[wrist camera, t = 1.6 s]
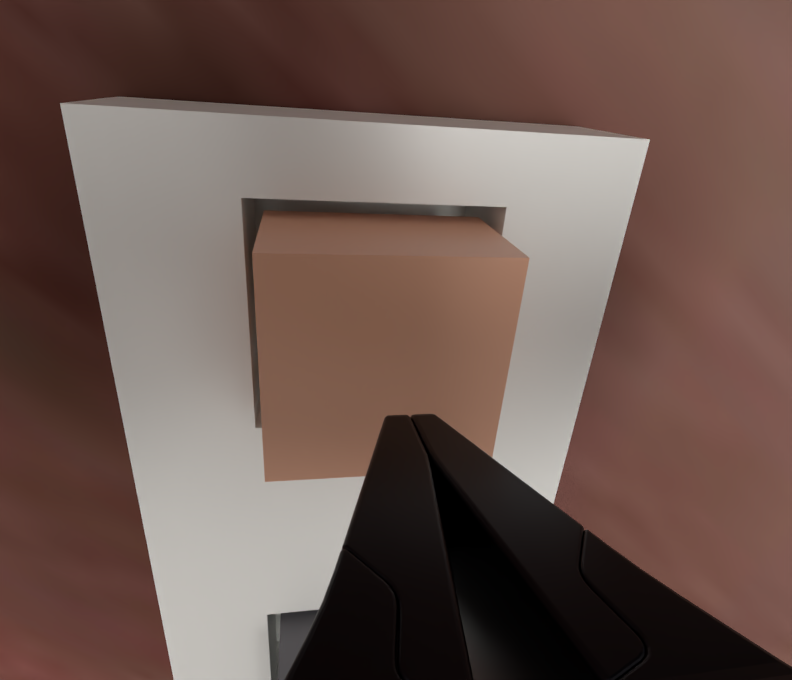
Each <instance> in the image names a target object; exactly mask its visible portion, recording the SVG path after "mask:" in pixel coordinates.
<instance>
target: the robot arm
mask: <svg viewBox="0 0 792 680" xmlns="http://www.w3.org/2000/svg"><path fill="white" fill-rule="evenodd" d="M284 680H792V667H791V666H790V665H788V664H786V663H785V662H783V661H781V660H780V659H778V658H777V657H775V656H773V655H772V654H770V653H769V652H767V651H766V650H764V649H763V648H761V647H760V646H758V645H756V644H755V643H753V642H752V641H750V640H749V639H747V638H746V637H744V636H742V635H741V634H739V633H738V632H736V631H735V630H733V629H732V628H730V627H729V626H727V625H725V624H724V623H722V622H721V621H719V620H718V619H716V618H715V617H713V616H711V615H710V614H708V613H707V612H705V611H704V610H702V609H701V608H699V607H698V606H696V605H694V604H693V603H691V602H690V601H688V600H687V599H685V598H684V597H682V596H680V595H679V594H678V593H676V592H675V591H673V590H672V589H670V588H669V587H667V586H666V585H664V584H663V583H661V582H660V581H658V580H657V579H655V578H654V577H652V576H651V575H649V574H648V573H646V572H645V571H643V570H642V569H640V568H639V567H638V566H636V565H635V564H633V563H632V562H631V561H629V560H628V559H626V558H625V557H624V556H622V555H621V554H620V553H618V552H617V551H615V550H614V549H613V548H611V547H610V546H609V545H607V544H606V543H605V542H603V541H602V540H601V539H599V538H598V537H597V536H595V535H594V534H593V533H591V532H590V531H589V530H585V531H584V528H583V526H582V525H580V524H579V523H578V522H577V521H575V520H574V519H573V518H571V517H570V516H569V515H567V514H566V513H565V512H563V511H562V510H561V509H559V508H558V507H557V506H555V505H554V504H553V503H551V502H550V501H549V500H547V499H546V498H545V497H544V496H542V495H541V494H540V493H538V492H537V491H536V490H534V489H533V488H532V487H530V486H529V485H528V484H526V483H525V482H524V481H522V480H521V479H520V478H518V477H517V476H516V475H514V474H513V473H512V472H511V471H509V470H508V469H507V468H505V467H504V466H503V465H501V464H500V463H499V462H497V461H496V460H495V459H493V458H492V457H491V456H489V455H488V454H487V453H485V452H484V451H483V450H481V449H480V448H479V447H477V446H476V445H475V444H474V443H472V442H471V441H470V440H468V439H467V438H466V437H464V436H463V435H462V434H460V433H459V432H458V431H456V430H455V429H454V428H452V427H451V426H450V425H448V424H447V423H446V422H444V421H443V420H442V419H441V418H439V417H438V416H436V415H435V414H414V415H412V416H411V417H409V416H408V415H387V416H386V417H385V418H384V421H383V424H382V427H381V430H380V433H379V436H378V439H377V442H376V445H375V448H374V451H373V454H372V457H371V460H370V464H369V467H368V470H367V473H366V476H365V479H364V482H363V485H362V488H361V491H360V494H359V497H358V500H357V503H356V506H355V509H354V512H353V515H352V518H351V521H350V525H349V528H348V531H347V534H346V537H345V540H344V543H343V546H342V550H341V551H340V554H339V557H338V560H337V563H336V566H335V569H334V572H333V575H332V577H331V580H330V583H329V585H328V588H327V591H326V593H325V596H324V599H323V601H322V604H321V606H320V608H319V610H318V612H317V614H316V617H315V619H314V621H313V623H312V625H311V627H310V630H309V632H308V634H307V636H306V638H305V640H304V642H303V644H302V646H301V648H300V650H299V652H298V654H297V656H296V658H295V660H294V662H293V664H292V666H291V668H290V670H289V671H288V673H287V675H286V677H285V679H284Z"/></svg>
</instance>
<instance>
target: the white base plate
mask: <svg viewBox="0 0 792 680" xmlns="http://www.w3.org/2000/svg"><path fill="white" fill-rule="evenodd" d="M60 106H61V111H62V116H63V121H64V126H65V131H66V137H67V142H68V147H69V152H70V157H71V162H72V167H73V172H74V177H75V182H76V187H77V192H78V197H79V202H80V207H81V212H82V218H83V223H84V228H85V233H86V238H87V243H88V248H89V253H90V258H91V263H92V268H93V273H94V278H95V283H96V288H97V293H98V298H99V304H100V309H101V314H102V319H103V324H104V329H105V334H106V339H107V344H108V349H109V354H110V359H111V364H112V369H113V374H114V379H115V385H116V390H117V395H118V400H119V405H120V410H121V415H122V420H123V425H124V430H125V435H126V440H127V445H128V450H129V455H130V460H131V466H132V471H133V476H134V481H135V486H136V491H137V496H138V501H139V506H140V511H141V516H142V521H143V526H144V531H145V536H146V541H147V546H148V552H149V557H150V562H151V567H152V572H153V577H154V582H155V587H156V592H157V597H158V602H159V607H160V612H161V617H162V622H163V627H164V633H165V638H166V643H167V648H168V653H169V658H170V663H171V668H172V673H173V678H174V680H278V670H279V643H280V617H281V613H288V612H298V611H308V610H318V609H319V608H320V606H321V604H322V601H323V599H324V596H325V593H326V591H327V588H328V585H329V583H330V580H331V577H332V575H333V572H334V569H335V566H336V563H337V560H338V557H339V554H340V551H341V550H342V546H343V543H344V540H345V537H346V534H347V531H348V528H349V525H350V521H351V518H352V515H353V512H354V509H355V506H356V503H357V500H358V497H359V494H360V491H361V488H362V485H363V482H364V479H365V476H361V477H343V478H326V479H308V480H291V481H273V482H265V476H264V459H263V441H262V423H261V405H260V387H259V369H258V351H257V333H256V315H255V297H254V279H253V262H252V251H253V248H254V244H255V241H256V237H257V233H258V230H259V226H260V222H261V219H262V215H263V212H264V210H270V211H302V212H334V213H366V214H398V215H431V216H463V217H479V218H480V219H481V220H483V221H484V222H485V223H486V224H488V225H489V226H490V227H491V228H493V229H494V230H495V231H496V232H498V233H499V234H500V235H501V236H503V237H504V238H505V239H506V240H508V241H509V242H510V243H511V244H513V245H514V246H515V247H517V248H518V249H519V250H520V251H522V252H523V253H524V254H525V255H527V256H528V257H529V264H528V269H527V274H526V280H525V285H524V290H523V296H522V301H521V306H520V312H519V317H518V322H517V328H516V333H515V338H514V344H513V349H512V354H511V360H510V365H509V370H508V376H507V381H506V387H505V392H504V397H503V403H502V408H501V413H500V419H499V424H498V429H497V435H496V440H495V445H494V451H493V456H492V458H493V459H495V460H496V461H497V462H499V463H500V464H501V465H503V466H504V467H505V468H507V469H508V470H509V471H511V472H512V473H513V474H514V475H516V476H517V477H518V478H520V479H521V480H522V481H524V482H525V483H526V484H528V485H529V486H530V487H532V488H533V489H534V490H536V491H537V492H538V493H540V494H541V495H542V496H544V497H545V498H546V499H547V500H549V501H550V502H551V503H554V500H555V496H556V492H557V488H558V485H559V481H560V477H561V473H562V470H563V466H564V462H565V458H566V454H567V451H568V447H569V443H570V439H571V436H572V432H573V428H574V424H575V420H576V417H577V413H578V409H579V405H580V402H581V398H582V394H583V390H584V387H585V383H586V379H587V375H588V371H589V368H590V364H591V360H592V356H593V353H594V349H595V345H596V341H597V337H598V334H599V330H600V326H601V322H602V319H603V315H604V311H605V307H606V303H607V300H608V296H609V292H610V288H611V285H612V281H613V277H614V273H615V270H616V266H617V262H618V258H619V254H620V251H621V247H622V243H623V239H624V236H625V232H626V228H627V224H628V220H629V217H630V213H631V209H632V205H633V202H634V198H635V194H636V190H637V187H638V183H639V179H640V175H641V171H642V168H643V164H644V160H645V156H646V153H647V149H648V145H649V141H650V139H644V138H639V137H633V136H628V135H622V134H617V133H611V132H606V131H600V130H595V129H589V128H584V127H578V126H565V125H550V124H534V123H519V122H504V121H488V120H473V119H457V118H442V117H427V116H411V115H396V114H380V113H365V112H350V111H334V110H319V109H303V108H288V107H272V106H257V105H242V104H226V103H211V102H195V101H180V100H165V99H149V98H134V97H110V98H101V99H92V100H83V101H74V102H65V103H60Z"/></svg>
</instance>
